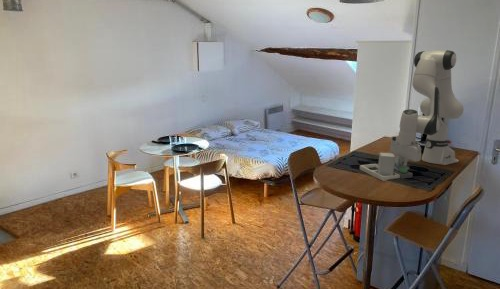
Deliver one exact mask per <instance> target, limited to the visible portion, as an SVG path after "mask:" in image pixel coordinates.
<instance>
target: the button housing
mask: <svg viewBox="0 0 500 289" xmlns="http://www.w3.org/2000/svg"><path fill="white" fill-rule="evenodd" d="M394 172H395V173H397V174H399V175H400V178H399V179H403V180H404V179H412V178H413V175H414V174H413V172H410V171H408V170H407V173H406V174H402V173H400V172H399V170H394Z"/></svg>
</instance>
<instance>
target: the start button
mask: <svg viewBox="0 0 500 289" xmlns="http://www.w3.org/2000/svg"><path fill="white" fill-rule="evenodd" d="M406 166H407V165H406ZM406 166H400V170H399V172H400V173H402V174H406V173H407V171H408V170H409V169H408V167H409V166H407V167H406ZM407 169H408V170H407Z"/></svg>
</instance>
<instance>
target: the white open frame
mask: <svg viewBox="0 0 500 289" xmlns="http://www.w3.org/2000/svg"><path fill="white" fill-rule="evenodd" d="M370 168H376V169H375V170H373V169H370ZM359 171H362V172H364V173H366V174H368V175H370V176H371V177H374V178H376V179H378V180H379V181H381V182H386V181H387V182H388V181H390V180H393V179H401V178H400V175H399V174H397V173H395V172H393V175H390V176H382V175H380V174H378V163H369V164H361V165H359Z"/></svg>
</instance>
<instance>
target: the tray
mask: <svg viewBox="0 0 500 289" xmlns="http://www.w3.org/2000/svg"><path fill="white" fill-rule="evenodd" d="M394 166H395V163H394ZM406 167H408V169H407V171H408V170H410V166H407V165H406ZM396 170H400V168H396V167H394V171H396Z"/></svg>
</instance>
